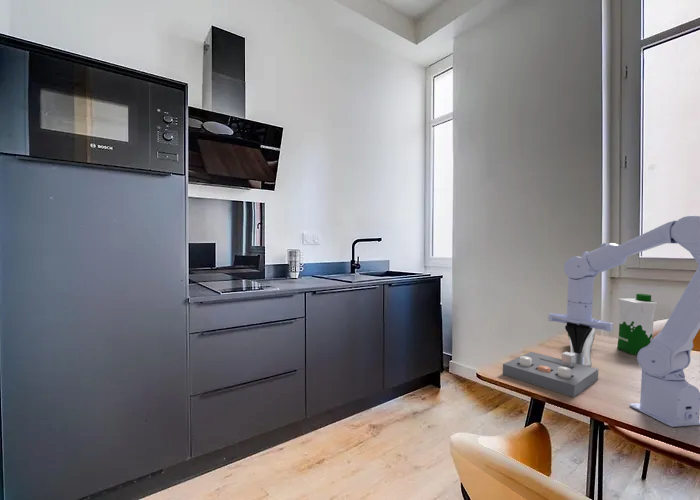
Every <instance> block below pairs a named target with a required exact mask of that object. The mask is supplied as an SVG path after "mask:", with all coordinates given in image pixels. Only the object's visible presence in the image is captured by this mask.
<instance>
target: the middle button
mask: <svg viewBox="0 0 700 500" xmlns="http://www.w3.org/2000/svg"><path fill="white" fill-rule="evenodd" d="M538 370H539V371H543V372H546V373H550V370H551V368H550V367H547V366H542V365H540V366H538Z"/></svg>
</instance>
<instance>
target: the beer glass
mask: <svg viewBox="0 0 700 500" xmlns="http://www.w3.org/2000/svg"><path fill="white" fill-rule="evenodd" d="M592 319H596V316H594V315H592ZM595 337H596V328H593V329H592V331H591V332H590V334H589V335H588V337H587V339H586V341H585V343H584V346H583V349H582V353H580V354H578V353H574V351H573V346H572V342H571V339H570V337H568V340H569V339H570V340H569V344H570V345H569V346H570V353H574V354H575V363H577V364H581V365H585V366H589V367H592V364H593V363H592V362H593V361H592V357H591V355H592V348H593V345H594V340H595Z"/></svg>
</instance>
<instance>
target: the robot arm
mask: <svg viewBox="0 0 700 500" xmlns="http://www.w3.org/2000/svg"><path fill="white" fill-rule="evenodd" d="M666 244H677V245H678V244H679V246H681V247H682V248H684V249H685V250H686V251H688V252H689V253H690V254H691V256H692V257H693V259H694V260H695V262H696V263H697V264H698V267H697V268H696V271H695V272H694V274H693V276H692V277H691V279H690V281H689V282H688V284H687V286H686V288H685V289H684V291H683V293H682V295H681V297H680V298H679V300H678V302H677V304H676V305H675V307H674V309H673V311H672V312H671V314H670V315H669V317H668V319H667V321H666V322H665V324H664V326H663V327H662V329H661V331H660V332H659V333H657V334H656V335H655V336H653V339H652V340H651V342H650V344H649V345H648V346H646V347H644V348H642V349H641V350H640V351H639V352H638V355H636V359H637V363H638V365H639V367H640V368H641V379H640V381H641V382H640V383H641V384H640V396H639V397H640V400H639V402H636V403H634V402H633V403H629V406H630V407H631V408H633V409H635V410H636V411H639V412H641V413H643V414H645V415H647V416H649V417H651V418H653V419H655V420H657V421H659V422H660V423H663V424H665V425H667V426H669V427H672V428H674V427H677V428H678V427H686V426H687V427H688V426H699V425H700V390H699V388H698V387H696V386H695V385H693V384H691V383H689V381H687V380H686V374H685V372H684V370H685V369H686V368H688V367H689V366H690V363H691V358H692V357H691V352H692V351H693V348H694V342H693V341H694V339H695V337H696V336H697V334H698V333H699V331H700V215H685V216H683V217H681V218H679V219H677V220H671V221H668V222H666V223H664V224H661V225H659V226H658V227H655V228H653V229H651V230H649V231H647V232H644V233H642V234H640V235H637V236H635V237H634V238H632V239H629V240H627V241H625V242H623V243H621V244H617V243H614V242H610V243H607V242H603V243H601V244H600V247H597V248H596V249H593V250H591V251H584V252H582V255H581V256H571V257H570V258H568V259H567V260H566V261H565V262H564V265H563V270H564V273H565V275H566V276H568V277H567V298H566V299H567V302H566V303H567V304H566V314H562V313H561V314H560V313H553V312H551V313H548V319H547V320H548V321H549V322H557V323H562V324H566V325H565V326H564V329H565V331H566V332H567V333H566V334H567V336H568V335H569V337H570V339H571V342H572V346H573V351H574V353H578V354H580V353H582V349H583V346H584V343H585V341H586V339H587V337H588V335H589V334H590V332H591V331H592V329H593V328H595V330H596V329H598V330H600V331H601V330H602V331H606V332H610V333H611V332H612V331H613V328H614V323H613V322H608V321H604V320H599V319H596V318H595V319H592V316H593V310H594V309H593V305H594V286H595V285H594V283H595V277H597V276H598V274H601V273H603V272H606V271H608V270H611V269H613V268H616V267H619V266H622V265H624V264H625V263H626V262H627V259H628V257H630V256H634V255H636V254H639V253H641V252H644V251H647V250H651V249H655V248H656V247H658V246H662V245H666ZM569 337H568V338H569Z"/></svg>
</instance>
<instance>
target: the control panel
mask: <svg viewBox="0 0 700 500" xmlns="http://www.w3.org/2000/svg"><path fill="white" fill-rule="evenodd" d="M521 356H526V357H530V358H531V359H532V363H531V367H525V366H522V365H520V356H518V357H516V358H513V359H511V360H509V361H506V362H505V363H502V375H503V376H507V377H509V378H512V379H515V380H518V381H522V382H524V383H528V384H531V385H534V386H536V387H540V388H544V389H546V390H550V391H551V392H552V391H553V392H556V393H559V394H562V395H565V396H569V397H570V398H575V397H577V396H578V395H580V394H581V393H582V392H583V391H585V390H586V389H587V388H589V387H590V386H592V385H593V384H595V383H596V382H597V381H598V380H599V368H595V367H593V366H585V365H581V364H577V363H575V365H574V366H573V367H568V368H570V369H571V379H567V378H563V377H560V376H558V367H560V366H562V367H567V366H564V365H561V364H562V358H559V357H558V358H557V357H553V356H549V355H546V354H541V353H538V352H535V351H534V352H533V351H529V352H526V353H525V354H522V355H521ZM540 365H542V366H547V367H550V368H551V370H550V373H546V372H543V371H539V370H538V366H540Z"/></svg>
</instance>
